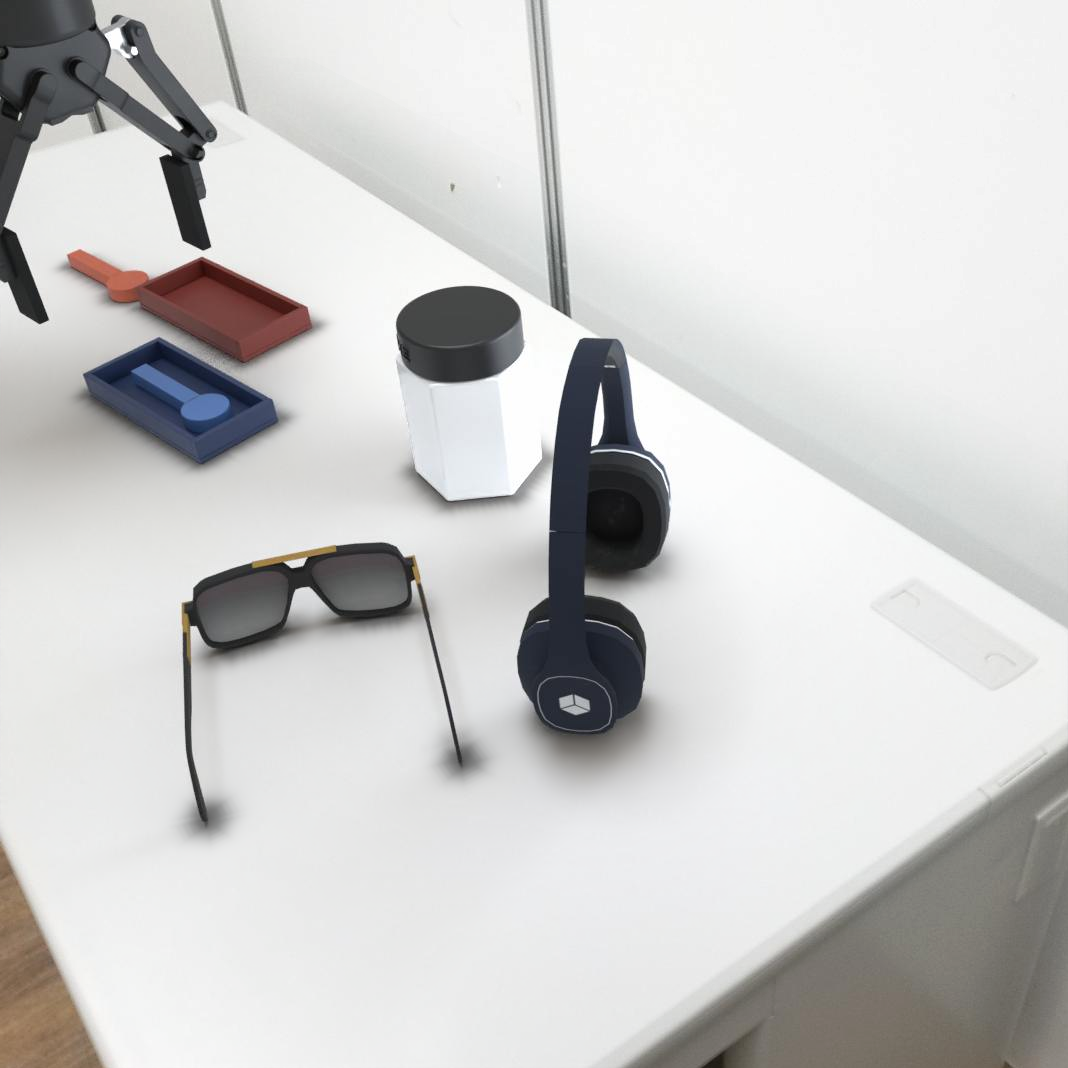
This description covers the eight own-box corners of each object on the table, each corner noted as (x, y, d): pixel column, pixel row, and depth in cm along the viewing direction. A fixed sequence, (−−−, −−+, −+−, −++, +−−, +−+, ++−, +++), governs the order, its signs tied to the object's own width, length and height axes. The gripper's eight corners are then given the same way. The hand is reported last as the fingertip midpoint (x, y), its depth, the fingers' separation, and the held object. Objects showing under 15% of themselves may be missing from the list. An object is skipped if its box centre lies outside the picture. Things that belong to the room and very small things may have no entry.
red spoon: (60, 271, 113) (55, 259, 112) (94, 256, 115) (90, 244, 114) (124, 306, 108) (120, 294, 107) (160, 290, 109) (156, 277, 109)
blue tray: (90, 394, 97) (82, 373, 96) (165, 357, 101) (159, 336, 100) (201, 464, 89) (193, 442, 88) (278, 420, 93) (272, 399, 92)
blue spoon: (122, 390, 97) (118, 376, 96) (162, 370, 99) (157, 357, 98) (202, 439, 91) (198, 425, 90) (243, 417, 93) (239, 404, 92)
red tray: (140, 307, 107) (133, 287, 106) (207, 275, 111) (202, 256, 110) (244, 362, 100) (238, 342, 98) (312, 327, 103) (307, 306, 102)
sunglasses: (203, 825, 65) (176, 764, 62) (196, 634, 76) (173, 573, 73) (463, 765, 67) (452, 702, 64) (420, 587, 78) (408, 526, 75)
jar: (459, 420, 92) (437, 273, 84) (557, 443, 89) (545, 292, 81) (396, 489, 86) (366, 338, 78) (500, 515, 83) (480, 361, 75)
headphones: (572, 522, 82) (551, 270, 70) (675, 527, 82) (673, 273, 69) (515, 750, 68) (477, 483, 56) (640, 759, 67) (629, 490, 55)
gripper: (-160, 33, 67) (-14, 368, 82) (219, -75, 81) (287, 230, 95) (-217, 7, 71) (-68, 332, 85) (154, -92, 84) (229, 203, 99)
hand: (119, 279), depth 90 cm, fingers open, 13 cm apart
